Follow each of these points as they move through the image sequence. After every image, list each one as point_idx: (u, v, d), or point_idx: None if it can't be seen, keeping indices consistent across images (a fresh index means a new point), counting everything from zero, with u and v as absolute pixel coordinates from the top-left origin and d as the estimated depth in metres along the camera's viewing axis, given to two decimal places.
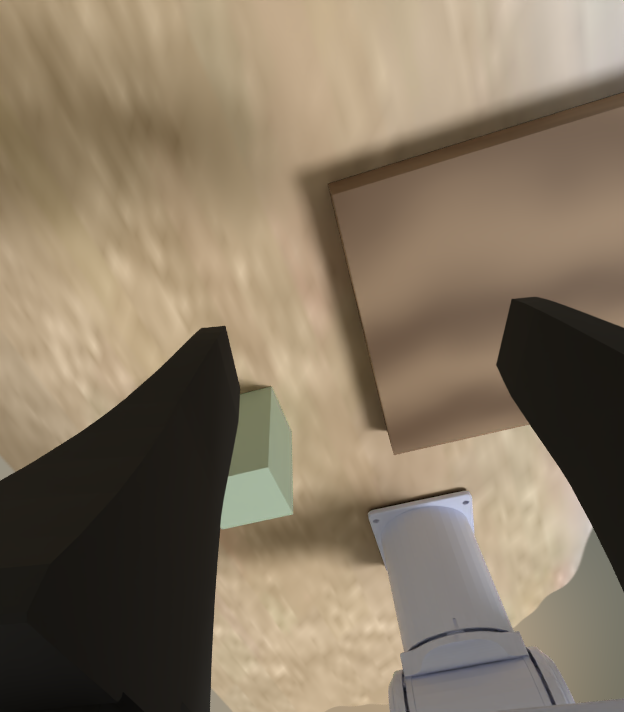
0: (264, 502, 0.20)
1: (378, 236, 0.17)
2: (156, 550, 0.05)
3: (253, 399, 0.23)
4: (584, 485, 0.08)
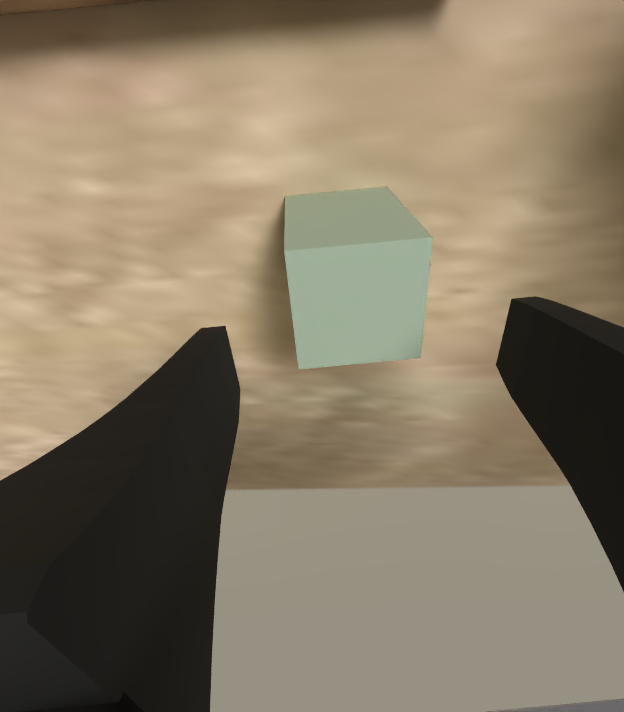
0: (375, 279, 0.11)
1: None
2: (156, 550, 0.05)
3: None
4: (584, 485, 0.08)
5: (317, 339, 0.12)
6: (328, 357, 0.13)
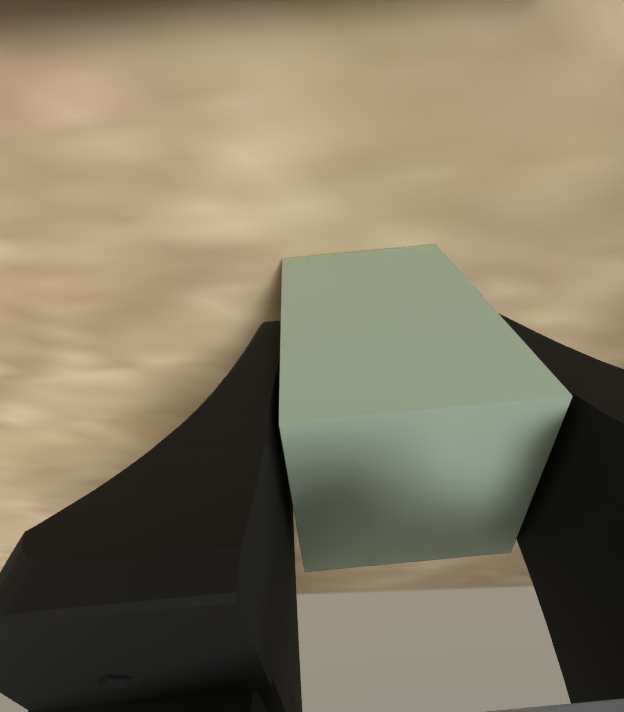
0: (450, 459, 0.06)
1: None
2: (274, 539, 0.05)
3: None
4: None
5: (338, 537, 0.07)
6: (355, 556, 0.08)
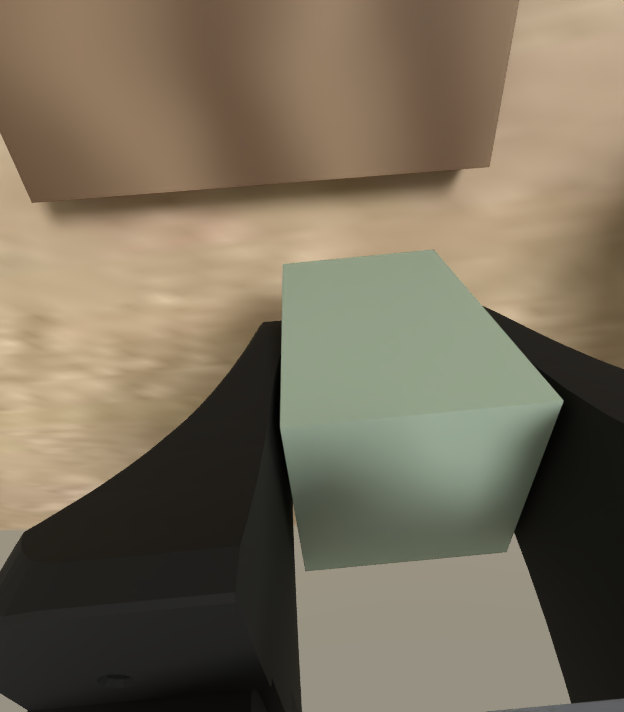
0: (446, 461, 0.06)
1: (77, 151, 0.13)
2: (273, 539, 0.05)
3: None
4: None
5: (338, 537, 0.07)
6: (355, 556, 0.08)
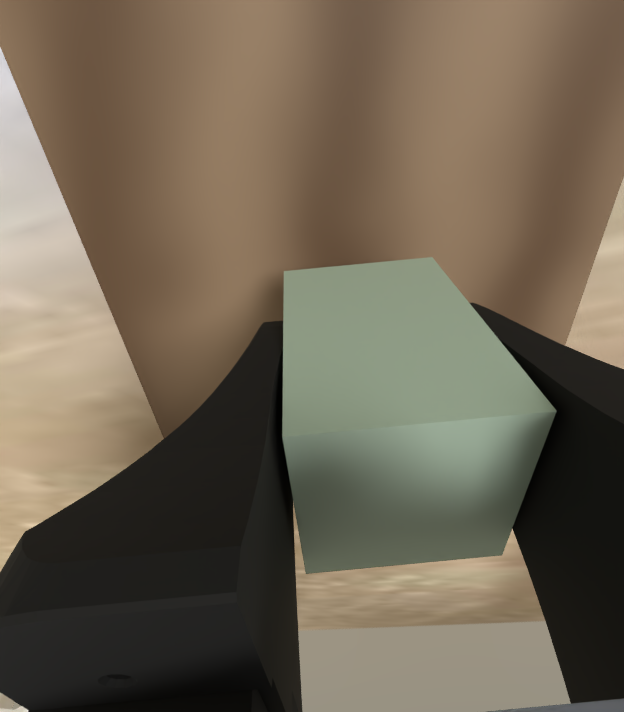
0: (443, 468, 0.06)
1: None
2: (274, 539, 0.05)
3: None
4: None
5: (338, 541, 0.07)
6: (354, 559, 0.08)
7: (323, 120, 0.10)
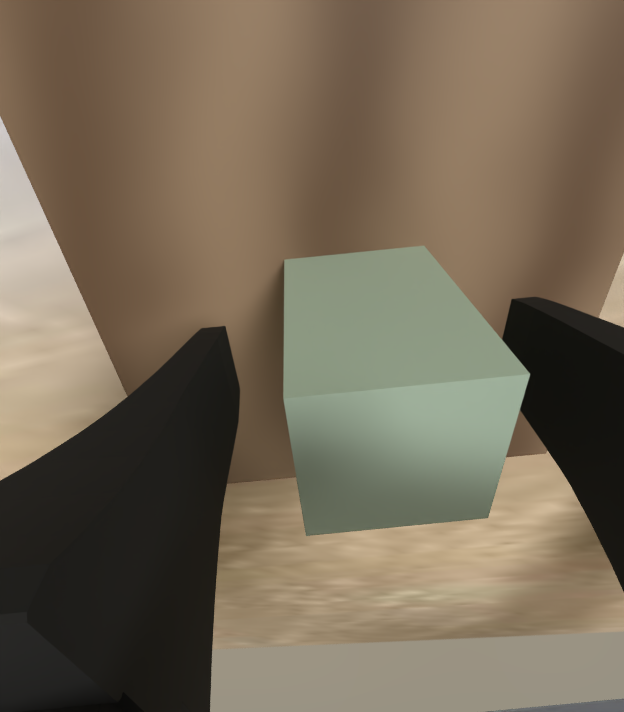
0: (430, 430, 0.07)
1: None
2: (156, 550, 0.05)
3: None
4: (584, 485, 0.08)
5: (335, 502, 0.08)
6: (351, 521, 0.09)
7: (325, 124, 0.09)
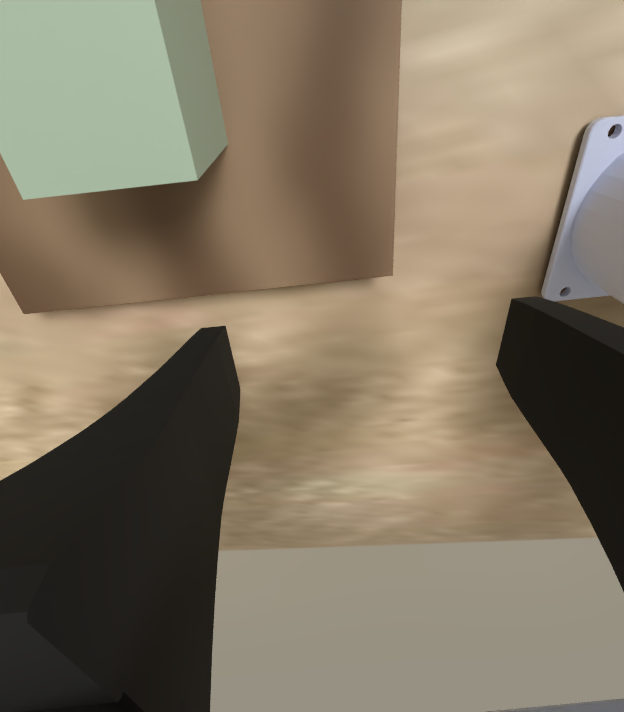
0: (74, 20, 0.07)
1: (57, 277, 0.16)
2: (156, 550, 0.05)
3: None
4: (584, 485, 0.08)
5: (30, 143, 0.08)
6: (60, 178, 0.09)
7: None
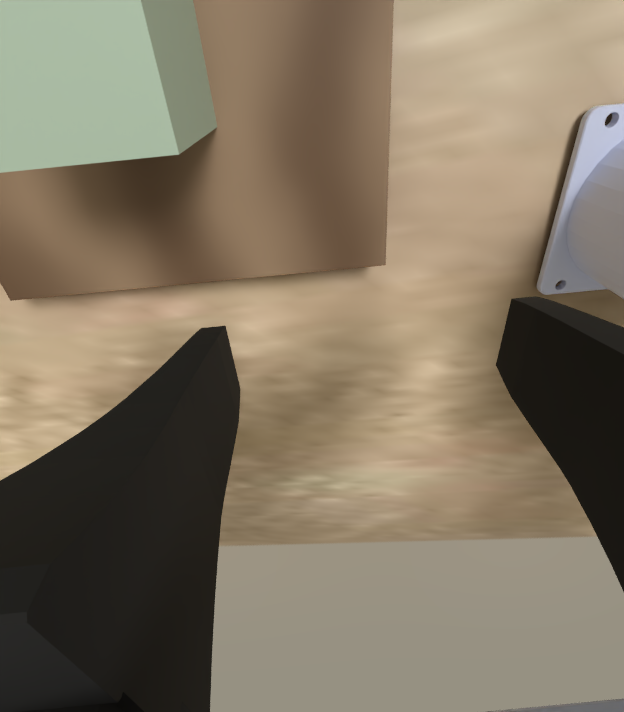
0: None
1: (44, 263, 0.16)
2: (156, 550, 0.05)
3: None
4: (584, 485, 0.08)
5: (4, 112, 0.08)
6: (37, 150, 0.09)
7: None
